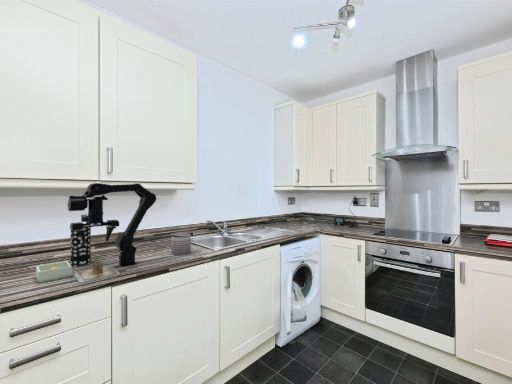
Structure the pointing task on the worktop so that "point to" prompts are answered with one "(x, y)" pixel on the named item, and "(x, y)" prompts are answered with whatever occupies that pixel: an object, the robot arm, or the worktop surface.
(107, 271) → the cover
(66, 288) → the worktop surface
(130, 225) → the robot arm
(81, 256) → the white-spotted black cylinder
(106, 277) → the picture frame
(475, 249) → the worktop surface
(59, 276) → the dish
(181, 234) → the can
